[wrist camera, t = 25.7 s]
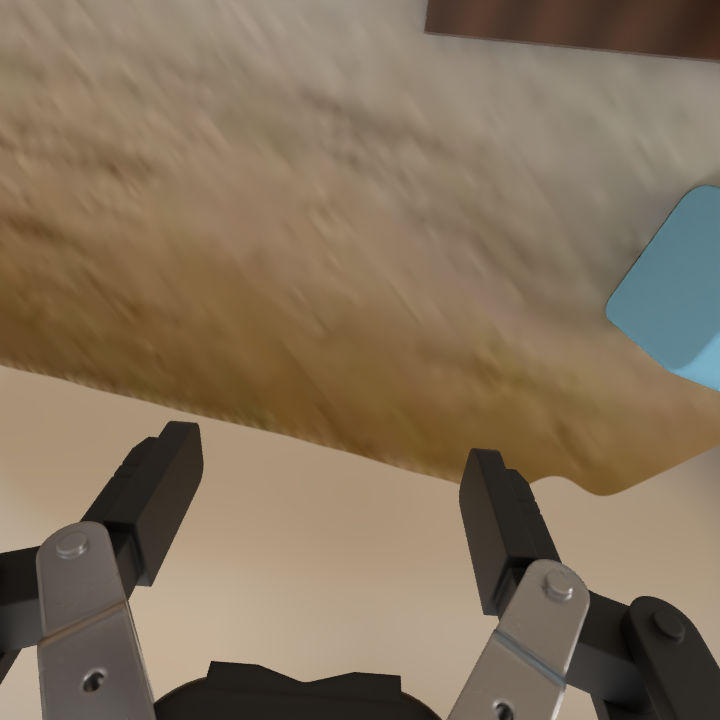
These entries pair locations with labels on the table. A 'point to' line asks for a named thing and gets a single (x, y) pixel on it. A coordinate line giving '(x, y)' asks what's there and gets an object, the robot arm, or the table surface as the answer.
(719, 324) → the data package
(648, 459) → the table surface
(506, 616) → the robot arm
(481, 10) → the dark wood bookend
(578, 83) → the table surface
